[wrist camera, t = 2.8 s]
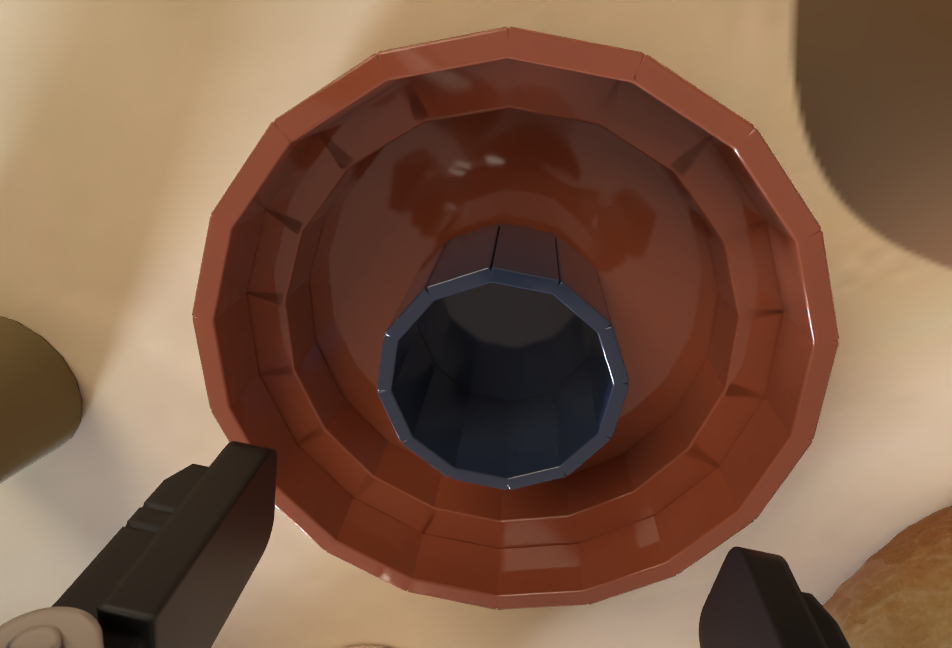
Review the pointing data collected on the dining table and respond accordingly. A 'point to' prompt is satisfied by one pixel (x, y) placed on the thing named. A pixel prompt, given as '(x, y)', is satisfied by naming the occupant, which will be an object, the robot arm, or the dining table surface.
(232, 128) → the dining table surface
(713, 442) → the serving bowl
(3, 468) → the cork
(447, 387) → the bowl
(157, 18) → the dining table surface
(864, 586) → the bread roll
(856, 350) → the dining table surface
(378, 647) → the beer glass
